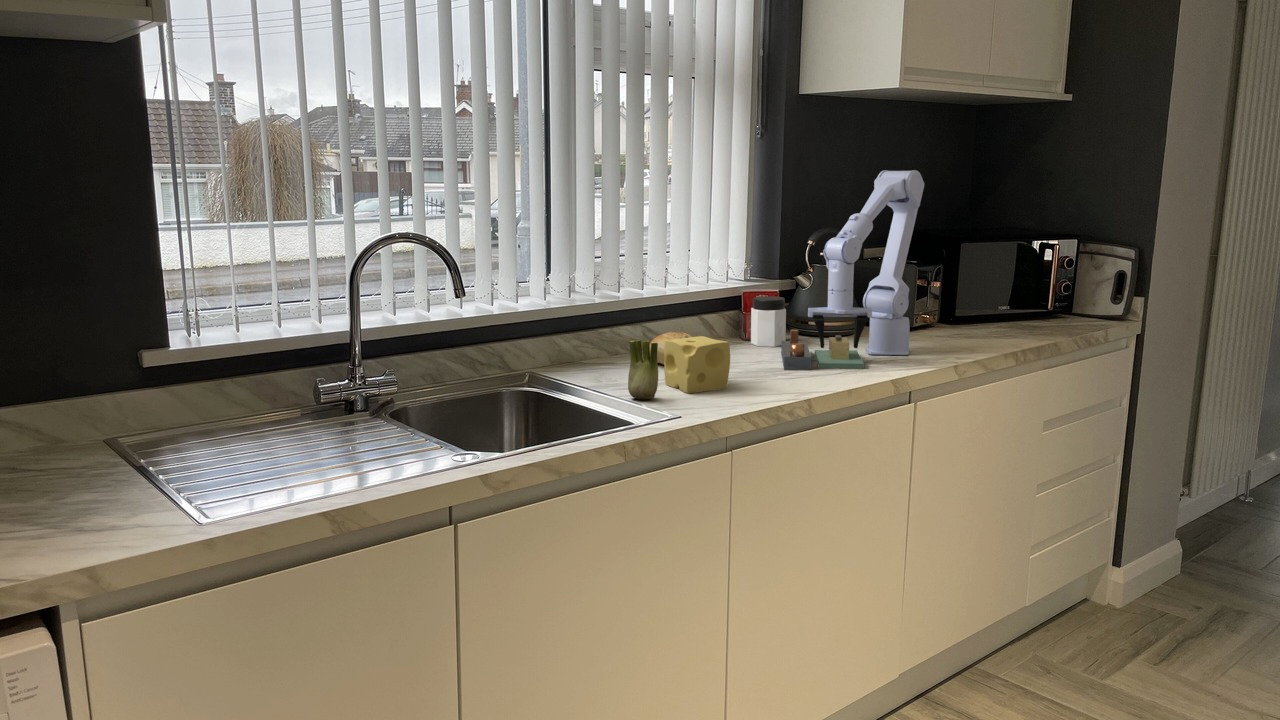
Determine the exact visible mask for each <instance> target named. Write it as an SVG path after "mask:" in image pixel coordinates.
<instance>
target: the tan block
mask: <svg viewBox="0 0 1280 720" xmlns="http://www.w3.org/2000/svg"><path fill="white" fill-rule="evenodd" d="M828 350H829V355H830V358H831V359H833V360H849V350H850V341H849V339H848V338H847V337H846V336H845V337H844V336H843V337H842V335H840V334H839V335H838V334H837V335H836V334H835V336H834V337H833V336H832V337H831V336H829V337H828Z"/></svg>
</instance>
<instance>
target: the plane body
mask: <svg viewBox="0 0 1280 720" xmlns="http://www.w3.org/2000/svg"><path fill="white" fill-rule="evenodd" d="M789 332H790V334H789V336H790V337H789V340H785V341H781V346H780V348H781V349H780V353H781V360H782V365H783V370H785V371H811V370H812V355H811V352H810V348H809V346H808V343H807V341H805V340H804V341H803V340H802V341H800V340H799V329H790V331H789Z"/></svg>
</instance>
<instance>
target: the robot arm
mask: <svg viewBox="0 0 1280 720" xmlns="http://www.w3.org/2000/svg"><path fill="white" fill-rule="evenodd" d="M873 183H874V185H873V187H874V189H873V191H872V192H871V194H870V196H869V198H868V199H867V201H866V202H865V204H864V206H863V207H862V209H861V211H860V212H859V213H858V212H857V213H853V214H852V215H850V216H849V218H848V220H847V222H846V223H845V224H844V226H843V227H842V229H841V230H840V231H839V232H838V233H837V235H836V236H835V237H832V238H830V239H829V240H828V241H826V243H825V245H824V249H823V251H822V253H823V257H824V259H825V262H826V264H825V265H826V266H825V267H826V269H827V270H828V274H827V275H828V276H827V278H828V279H827V306H823V307H822V306H821V307H808V309H807V316H808V318H812V320H813V322H814V324H815V327H816V330H817V334H818V338H819V343H820V344H819V346H820V349H824V348H825V339H824V338H825V318H824V317H826V318H828V317H829V318H830V317H831V318H832V317H833V318H835V317H836V318H845V317H846V318H854V335H853V348H854V349H858V347H859V342H860V338H861V336H862V333H863V331H864V328H865V326H866V325H867V323H868V318H869V334H868V346H865V351H866V352H867V354H868V355H876V356H879V355H880V356H910V352H909V351H910V349H909V347H910V325H911V324H910V319H909V317H907V316H904V315H905V314H906V312H907V311H908V309H909V303H910V301H909V300H910V299H909V294H910V293H909V292H910V288H909V285H907V284H906V282H904V280H903V274H904V270H905V266H906V262H907V259H908V258H907V257H908V254H909V248H910V246H911V245H910V244H911V241H912V236H913V232H914V227H915V224H916V220H917V215H918V210H919V208H920V206H921V201H922V197H923V192H924V189H925V182H924V180H923V177H922V174H921V173H920V172H919V171H918V170H917V169H914V170H887V169H885V170H882V171H880V172H879V174H878V175H877V177H876V178H875V179H874V181H873ZM886 206H888V207H890V209H892V212H893V216H892V220H891V223H890V229H889V233H888V237H887V241H886V245H885V251H884V253H883V254H884V255H883V258H882V263H881V267H880V272H879V274H878V276H876V277H874V278H873V279H872V280H871V281H869V283H868V287H867V290H866V291H865V293H864V295H863V298H862V306H863V307H853V305H854V304H853V303H854V273H855V262H856V261H857V260H859V259H860V254H861V250H862V247H863V243H864V242H865V240H866V239H867V238H868V237H869V235H870V233H872V231H873V228H874V224H873V222H874V220H875V218H877V216H878V215H879V214H880V213H881V212H882V211H883V209H885V207H886Z"/></svg>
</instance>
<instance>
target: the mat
mask: <svg viewBox="0 0 1280 720" xmlns="http://www.w3.org/2000/svg"><path fill="white" fill-rule="evenodd" d="M814 358H815V360H816V362H817V363H816V364H817V367H818V369H836V370H837V369H840V370H841V369H843V370H845V369H847V370H848V369H854V370H857V369H858V370H859V369H860V370H861V369H862V370H864V369H865V363H864V361H863V359H862V358H861V355H860V354H859V352H858V350H853V349H852V350H850V349H849V360H833V359H831V358H830V355H829V349H828V350H826V349H815V350H814Z"/></svg>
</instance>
